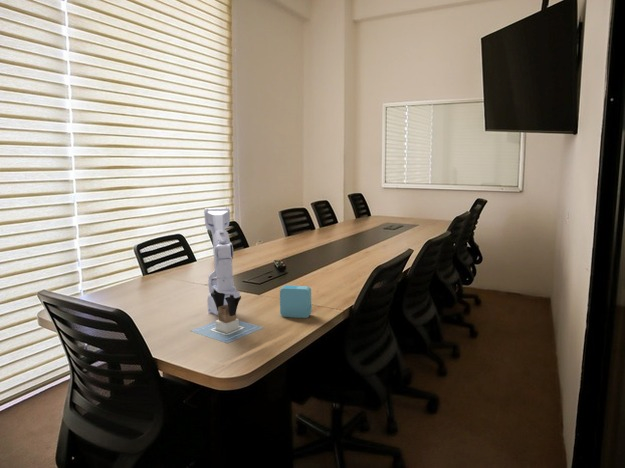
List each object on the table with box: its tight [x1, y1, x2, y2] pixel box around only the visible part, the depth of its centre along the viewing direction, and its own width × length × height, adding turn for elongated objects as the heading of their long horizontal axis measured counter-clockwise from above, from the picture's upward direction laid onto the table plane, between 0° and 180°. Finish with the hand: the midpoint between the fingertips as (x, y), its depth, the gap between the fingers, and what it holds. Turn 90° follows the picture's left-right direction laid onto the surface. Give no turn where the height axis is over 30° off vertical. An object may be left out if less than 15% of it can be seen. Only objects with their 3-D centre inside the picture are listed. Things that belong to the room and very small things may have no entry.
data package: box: [279, 285, 312, 319], centre depth 180 cm, size 12×4×12 cm, turn 78°
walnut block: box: [217, 304, 237, 323], centre depth 164 cm, size 4×4×5 cm
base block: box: [214, 318, 240, 333], centre depth 164 cm, size 6×6×4 cm
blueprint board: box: [190, 320, 264, 344], centre depth 165 cm, size 20×18×1 cm
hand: (226, 312), depth 164 cm, fingers open, 7 cm apart
